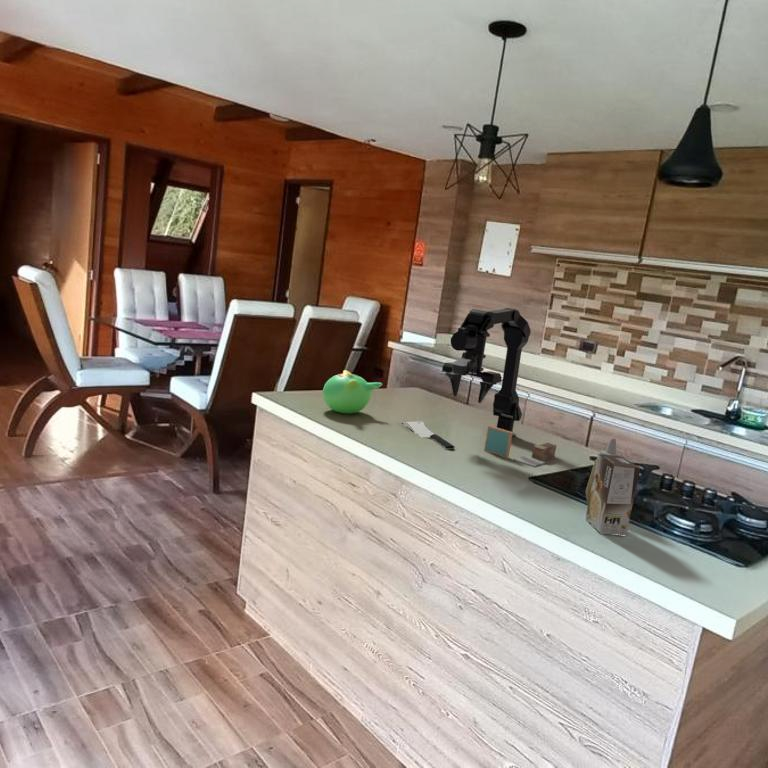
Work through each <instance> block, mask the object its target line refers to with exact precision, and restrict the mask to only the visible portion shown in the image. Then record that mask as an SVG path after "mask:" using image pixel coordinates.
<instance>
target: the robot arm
mask: <svg viewBox="0 0 768 768" xmlns="http://www.w3.org/2000/svg"><path fill="white" fill-rule="evenodd" d="M497 324H501V325H500V326H501V327H500V328H501V329H502V331H503V340H504V343H505V345H506V353H505V360H504V361H505V362H504V366H503V367H504V368H503V375H501V373H500V372H496V371H491V370H489V371H484V369H485V368H484V367H483V361H484V359H486V354H485V351H486V350H485V348H486V342H487V338H490V336H491V335H490V333H489V332H488V331H489V330H491V329H492V328H494V326H495V325H497ZM531 332H532V331H531V327H530V325H529V322H528V321H527V319H525V318H524V317H523V316H522V315H521V313H520V311H519V310H518V309H517V308H516V309H515V308H511V307H510V308H509V307H505V308H502V309H493V310H489V311H487V310H482V309H481V310H480V309H476V308H472V309H470V310H469V312H468V313H467V315H466V317H465V318H464V320H463V322H462V323H461V325H460V327H458V328H457V331H456V332H454V333H453V334H452V336H451V337H450V346H451V348H452V349H453V350H454V351H457V352H459V351H463V352H462V354H461V358H458V359H457V360H455V361H453V362H444V363H443V365H442V366H441V367H442V368H441V372H443V373H444V375H445V376H447V377H448V378H449V380H450V385H451V390H452V394H453V397H457V395H458V392H459V389H460V386H461V385H460V384H461V380H462V376H468V375H469V376H472V377H476V378H480V379H481V381H479V385H480V389H479V393H478V399H477V400H478V401H477V402H478V404H481V403H482V402H483V400H484V399H485V397H486V396H487V394H488V392H489V391H490V390H491V389H492V387H494V386H496V385H497V384H498V383H499V384H500V383H501V388H500V390H498V392H496V393H495V394H494V397H493V399H494V400H493V403H492V415H493V416H496V417H497V418H498V419H497V422H496V427H497V428H500V429H503V430H507V431H510V432H513V434H512V437H516V436H517V434H516V433H514V426H515V422H520V421H521V419H522V416H523V413H522V410H521V407H520V397H519V395H518V392H517V390H516V389H517V385H518V384H517V383H518V377H519V370H520V364H521V356H522V351H523V348H524V347H525V346H526V345H527V344H528V342H529V338H530V335H531Z"/></svg>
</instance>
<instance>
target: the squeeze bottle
mask: <svg viewBox="0 0 768 768" xmlns="http://www.w3.org/2000/svg"><path fill="white" fill-rule="evenodd" d="M599 454H602V455H614V456H621V454H619V453H617V439H616V438H613V437H612V438H610V440H609V442H608V443H607V447H606V448H605V450H601V451H600V453H599ZM596 462H597V458H596V459H594V461H593V465H592V469H591V472H590V476H589V479H588V481H587V484H586V485H587V486H586V488H585V498H586V504H588V503H589V498H590V493H591V488H592V482H593V477H594V472H595V467H596Z"/></svg>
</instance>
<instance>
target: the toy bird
mask: <svg viewBox="0 0 768 768" xmlns="http://www.w3.org/2000/svg"><path fill="white" fill-rule="evenodd" d="M382 386H383V383H382V382H378V381H375V382H368V381H366V380H365V379H364V378H363V377H362V376H359V375H358V374H353V373H351V372H350V371H349V370H346V369H344V370H343V371H342V373H339V374H336V375H333V376H332V377H330V378H329V379H328V380H327V381H326V382H325V383H324V386H323V389H322V399H323V401H324V403H325V404H326V406H327V407H329V408H330V409H331V410H332V411H335V412H336V413H341V414H346V413H347V414H348V415H349V414H355V413H359V412H360V411H362V410H363V409H365V408H366V407H367V405H369V403H370V400H371V399H372V392H373V391H375V390H377V389H379V388H380V387H382Z"/></svg>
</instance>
